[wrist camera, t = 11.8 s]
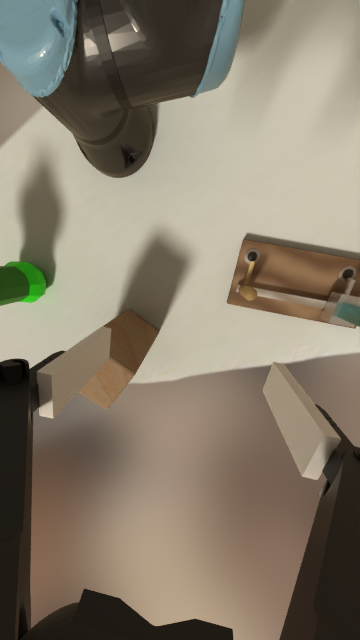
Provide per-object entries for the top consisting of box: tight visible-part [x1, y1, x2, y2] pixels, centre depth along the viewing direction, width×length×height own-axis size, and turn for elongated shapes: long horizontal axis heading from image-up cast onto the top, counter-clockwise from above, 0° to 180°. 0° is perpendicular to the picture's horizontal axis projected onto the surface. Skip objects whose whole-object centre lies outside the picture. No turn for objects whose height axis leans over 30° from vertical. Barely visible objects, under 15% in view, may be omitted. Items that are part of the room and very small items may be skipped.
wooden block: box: [78, 309, 159, 409], centre depth 42 cm, size 10×10×20 cm
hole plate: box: [227, 239, 360, 328], centre depth 40 cm, size 14×29×9 cm, turn 80°
